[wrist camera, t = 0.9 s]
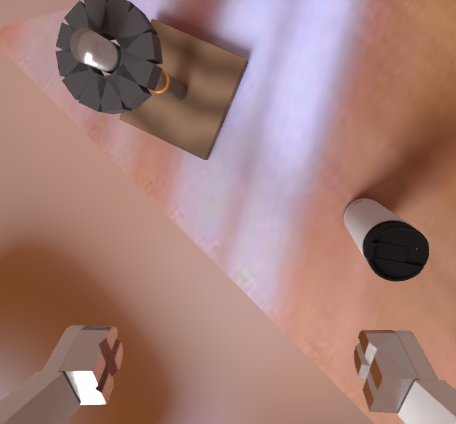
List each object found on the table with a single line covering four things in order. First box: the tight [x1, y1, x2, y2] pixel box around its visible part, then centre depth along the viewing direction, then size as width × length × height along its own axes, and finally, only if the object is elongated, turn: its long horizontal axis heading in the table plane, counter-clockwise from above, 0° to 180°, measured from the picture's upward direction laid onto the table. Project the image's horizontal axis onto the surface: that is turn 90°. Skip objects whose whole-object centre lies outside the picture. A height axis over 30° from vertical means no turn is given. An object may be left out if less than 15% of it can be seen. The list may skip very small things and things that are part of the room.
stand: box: [120, 19, 248, 160], centre depth 53 cm, size 17×17×2 cm
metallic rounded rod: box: [70, 28, 187, 100], centre depth 41 cm, size 3×3×24 cm
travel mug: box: [343, 198, 429, 281], centre depth 42 cm, size 6×7×20 cm
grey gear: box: [56, 0, 163, 114], centre depth 33 cm, size 11×11×2 cm
